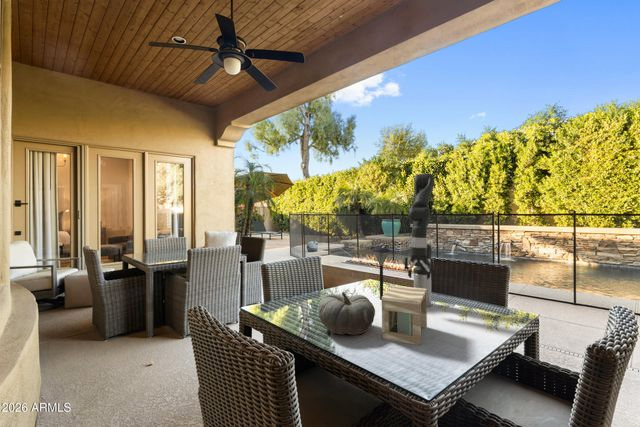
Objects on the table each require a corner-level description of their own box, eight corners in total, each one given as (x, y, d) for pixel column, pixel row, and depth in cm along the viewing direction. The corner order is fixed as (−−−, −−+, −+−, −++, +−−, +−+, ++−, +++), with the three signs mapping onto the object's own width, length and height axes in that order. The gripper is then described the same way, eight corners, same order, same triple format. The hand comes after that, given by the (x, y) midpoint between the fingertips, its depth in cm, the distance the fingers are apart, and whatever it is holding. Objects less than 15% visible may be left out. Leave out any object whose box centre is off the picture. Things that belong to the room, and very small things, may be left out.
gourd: (308, 317, 149) (315, 281, 148) (355, 319, 158) (362, 285, 157) (327, 344, 126) (335, 302, 124) (381, 344, 134) (389, 305, 133)
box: (392, 322, 149) (392, 285, 148) (426, 326, 142) (426, 288, 142) (382, 338, 130) (381, 297, 130) (420, 345, 124) (420, 301, 124)
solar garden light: (369, 301, 181) (369, 249, 181) (372, 295, 193) (371, 246, 192) (391, 303, 178) (391, 249, 177) (393, 297, 189) (392, 246, 189)
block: (399, 329, 140) (399, 307, 140) (411, 331, 138) (411, 308, 138) (397, 333, 135) (397, 310, 135) (409, 335, 133) (409, 311, 133)
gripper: (434, 246, 163) (434, 278, 163) (406, 245, 169) (406, 276, 168) (433, 247, 156) (433, 280, 156) (403, 246, 162) (403, 278, 162)
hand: (419, 278), depth 162 cm, fingers open, 8 cm apart
